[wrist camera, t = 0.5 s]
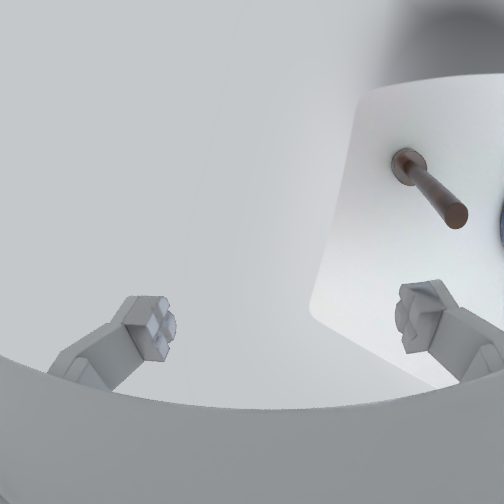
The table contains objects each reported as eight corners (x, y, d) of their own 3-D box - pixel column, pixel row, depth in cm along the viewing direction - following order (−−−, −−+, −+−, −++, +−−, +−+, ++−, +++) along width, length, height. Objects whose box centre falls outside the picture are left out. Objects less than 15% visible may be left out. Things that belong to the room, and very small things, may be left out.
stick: (386, 154, 31) (423, 195, 16) (417, 144, 29) (476, 179, 14) (397, 186, 32) (435, 251, 17) (426, 176, 30) (484, 235, 15)
